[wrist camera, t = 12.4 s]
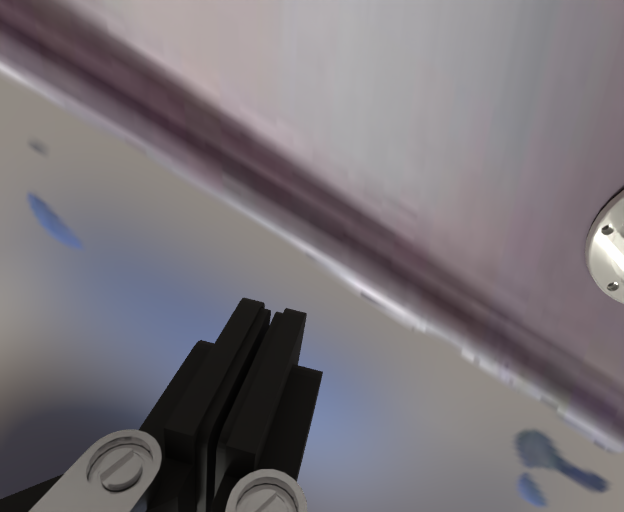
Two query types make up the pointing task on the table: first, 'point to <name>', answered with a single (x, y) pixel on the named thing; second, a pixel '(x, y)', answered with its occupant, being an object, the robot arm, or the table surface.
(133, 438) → the robot arm
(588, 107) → the table surface
